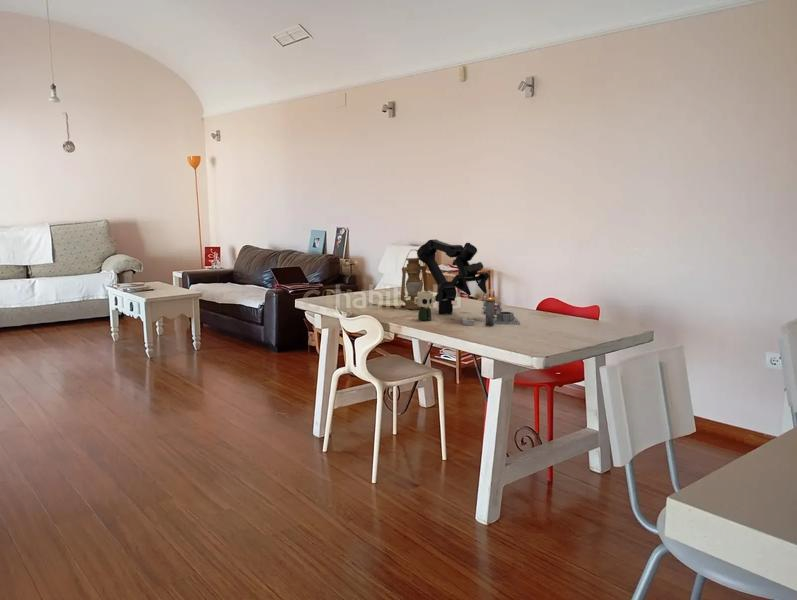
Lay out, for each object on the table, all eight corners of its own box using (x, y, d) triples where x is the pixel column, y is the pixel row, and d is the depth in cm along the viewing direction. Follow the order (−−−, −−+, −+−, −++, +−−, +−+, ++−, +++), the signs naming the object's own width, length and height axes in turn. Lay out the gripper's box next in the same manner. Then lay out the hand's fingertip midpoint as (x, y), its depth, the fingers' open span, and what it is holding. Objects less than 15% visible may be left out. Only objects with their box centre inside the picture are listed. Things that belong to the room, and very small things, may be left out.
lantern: (410, 310, 322) (407, 250, 319) (397, 308, 330) (394, 250, 327) (432, 307, 332) (430, 248, 329) (419, 305, 340) (417, 248, 337)
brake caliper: (505, 310, 313) (491, 290, 313) (487, 323, 316) (473, 303, 316) (507, 306, 323) (493, 287, 324) (489, 318, 327) (475, 299, 327)
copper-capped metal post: (485, 326, 287) (485, 298, 285) (484, 324, 291) (484, 297, 289) (494, 326, 287) (495, 298, 285) (493, 324, 291) (494, 297, 289)
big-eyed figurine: (417, 322, 296) (417, 294, 294) (411, 319, 302) (411, 292, 300) (438, 320, 300) (438, 292, 298) (431, 317, 307) (431, 290, 304)
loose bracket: (462, 325, 289) (462, 320, 288) (461, 322, 297) (461, 316, 296) (473, 325, 289) (474, 320, 288) (472, 322, 296) (472, 316, 296)
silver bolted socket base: (493, 324, 292) (493, 315, 292) (490, 318, 304) (490, 310, 303) (519, 324, 292) (520, 315, 291) (515, 319, 304) (516, 310, 303)
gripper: (455, 257, 291) (470, 285, 284) (487, 255, 301) (502, 282, 293) (445, 272, 299) (458, 299, 292) (476, 270, 309) (490, 296, 301)
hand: (478, 294), depth 294 cm, fingers open, 9 cm apart
